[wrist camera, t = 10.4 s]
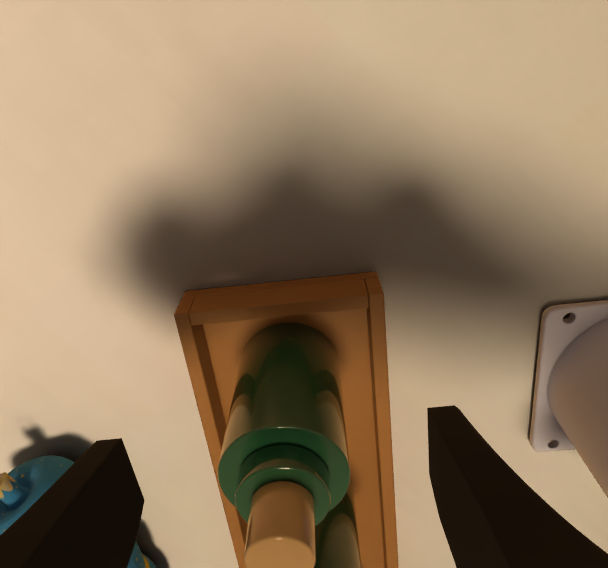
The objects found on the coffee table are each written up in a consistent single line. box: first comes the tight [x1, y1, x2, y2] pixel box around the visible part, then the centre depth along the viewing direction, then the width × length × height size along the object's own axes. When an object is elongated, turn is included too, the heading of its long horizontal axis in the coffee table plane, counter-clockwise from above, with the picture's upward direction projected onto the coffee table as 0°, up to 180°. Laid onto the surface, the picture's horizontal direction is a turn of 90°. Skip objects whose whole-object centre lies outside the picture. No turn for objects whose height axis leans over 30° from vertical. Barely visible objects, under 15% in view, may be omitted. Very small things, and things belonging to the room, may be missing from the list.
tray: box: [174, 272, 398, 568], centre depth 25 cm, size 8×23×2 cm, turn 7°
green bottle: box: [218, 322, 351, 568], centre depth 18 cm, size 4×4×10 cm
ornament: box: [0, 455, 156, 568], centre depth 26 cm, size 5×5×15 cm
